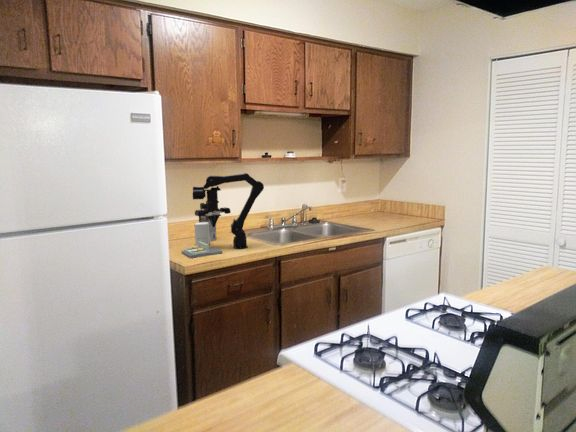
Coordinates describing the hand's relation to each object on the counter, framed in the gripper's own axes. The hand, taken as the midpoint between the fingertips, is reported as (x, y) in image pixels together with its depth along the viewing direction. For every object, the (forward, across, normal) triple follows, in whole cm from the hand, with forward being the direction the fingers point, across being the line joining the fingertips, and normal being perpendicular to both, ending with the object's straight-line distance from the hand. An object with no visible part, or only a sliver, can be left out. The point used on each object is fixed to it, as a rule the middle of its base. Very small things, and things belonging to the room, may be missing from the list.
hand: (213, 227), depth 231 cm
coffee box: (+12, -7, -25) cm, 29 cm away
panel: (+11, +13, +6) cm, 18 cm away
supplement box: (+12, +1, -14) cm, 19 cm away
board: (+12, +10, +6) cm, 17 cm away
